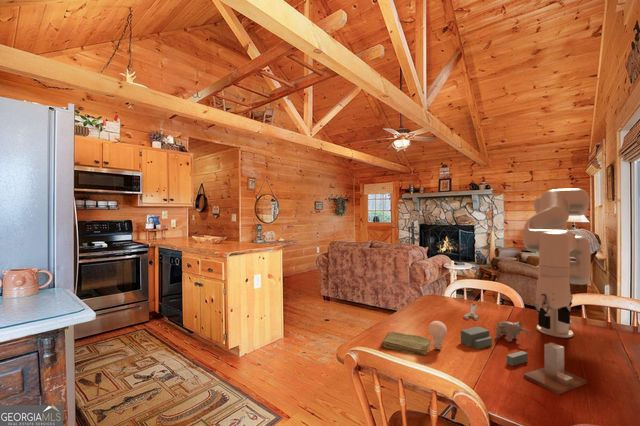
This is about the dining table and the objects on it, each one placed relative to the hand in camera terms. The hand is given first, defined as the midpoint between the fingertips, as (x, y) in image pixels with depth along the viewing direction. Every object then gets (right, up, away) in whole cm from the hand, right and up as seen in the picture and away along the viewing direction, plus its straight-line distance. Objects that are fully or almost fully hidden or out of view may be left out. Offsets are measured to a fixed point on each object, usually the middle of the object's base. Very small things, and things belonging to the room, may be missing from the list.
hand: (554, 324), depth 95 cm
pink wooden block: (+1, -17, -1) cm, 17 cm away
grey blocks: (-8, -17, +20) cm, 28 cm away
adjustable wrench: (+6, -17, +62) cm, 65 cm away
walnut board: (0, -18, 0) cm, 18 cm away
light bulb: (-28, -18, +22) cm, 40 cm away
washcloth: (-40, -19, +26) cm, 51 cm away
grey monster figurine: (+6, -17, +29) cm, 35 cm away
